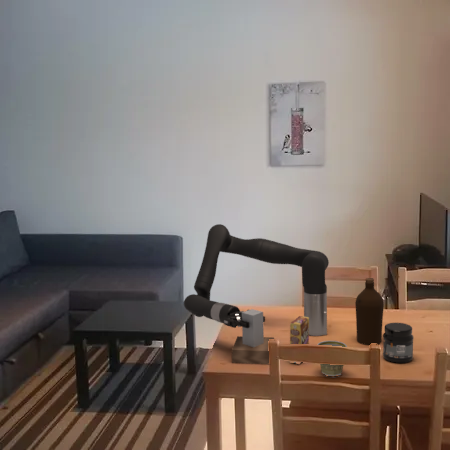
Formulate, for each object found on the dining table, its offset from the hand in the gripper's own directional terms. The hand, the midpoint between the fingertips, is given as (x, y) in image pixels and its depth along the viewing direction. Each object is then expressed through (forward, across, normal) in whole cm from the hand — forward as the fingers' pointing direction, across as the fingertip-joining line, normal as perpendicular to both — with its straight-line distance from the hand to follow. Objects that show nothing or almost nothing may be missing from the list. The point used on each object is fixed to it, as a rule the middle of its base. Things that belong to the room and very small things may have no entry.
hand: (256, 322), depth 222 cm
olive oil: (+22, +41, +14) cm, 48 cm away
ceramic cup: (+30, +7, +14) cm, 34 cm away
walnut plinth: (-2, 0, +14) cm, 14 cm away
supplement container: (+39, +32, +14) cm, 52 cm away
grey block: (-2, 0, +8) cm, 9 cm away
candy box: (+13, +8, +14) cm, 21 cm away
